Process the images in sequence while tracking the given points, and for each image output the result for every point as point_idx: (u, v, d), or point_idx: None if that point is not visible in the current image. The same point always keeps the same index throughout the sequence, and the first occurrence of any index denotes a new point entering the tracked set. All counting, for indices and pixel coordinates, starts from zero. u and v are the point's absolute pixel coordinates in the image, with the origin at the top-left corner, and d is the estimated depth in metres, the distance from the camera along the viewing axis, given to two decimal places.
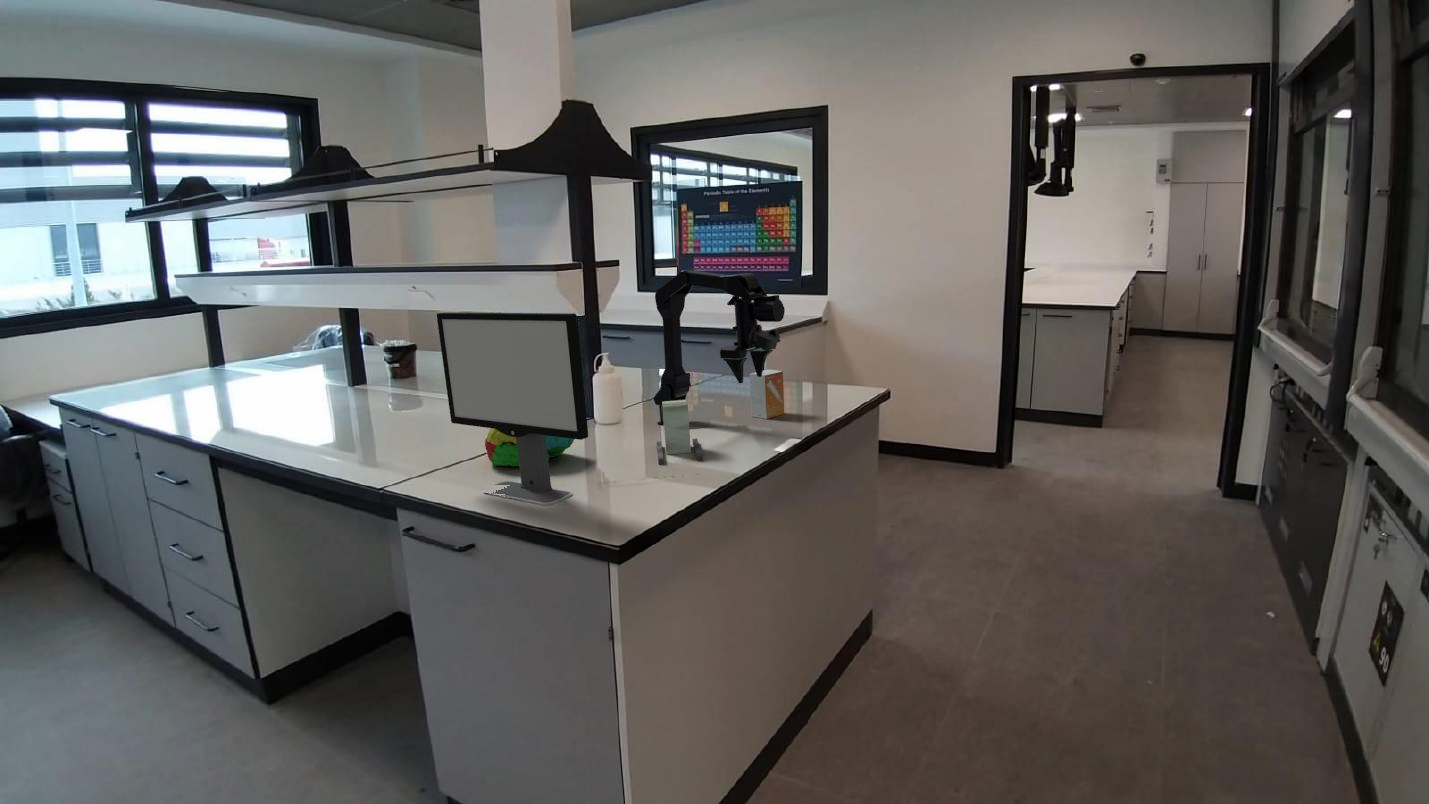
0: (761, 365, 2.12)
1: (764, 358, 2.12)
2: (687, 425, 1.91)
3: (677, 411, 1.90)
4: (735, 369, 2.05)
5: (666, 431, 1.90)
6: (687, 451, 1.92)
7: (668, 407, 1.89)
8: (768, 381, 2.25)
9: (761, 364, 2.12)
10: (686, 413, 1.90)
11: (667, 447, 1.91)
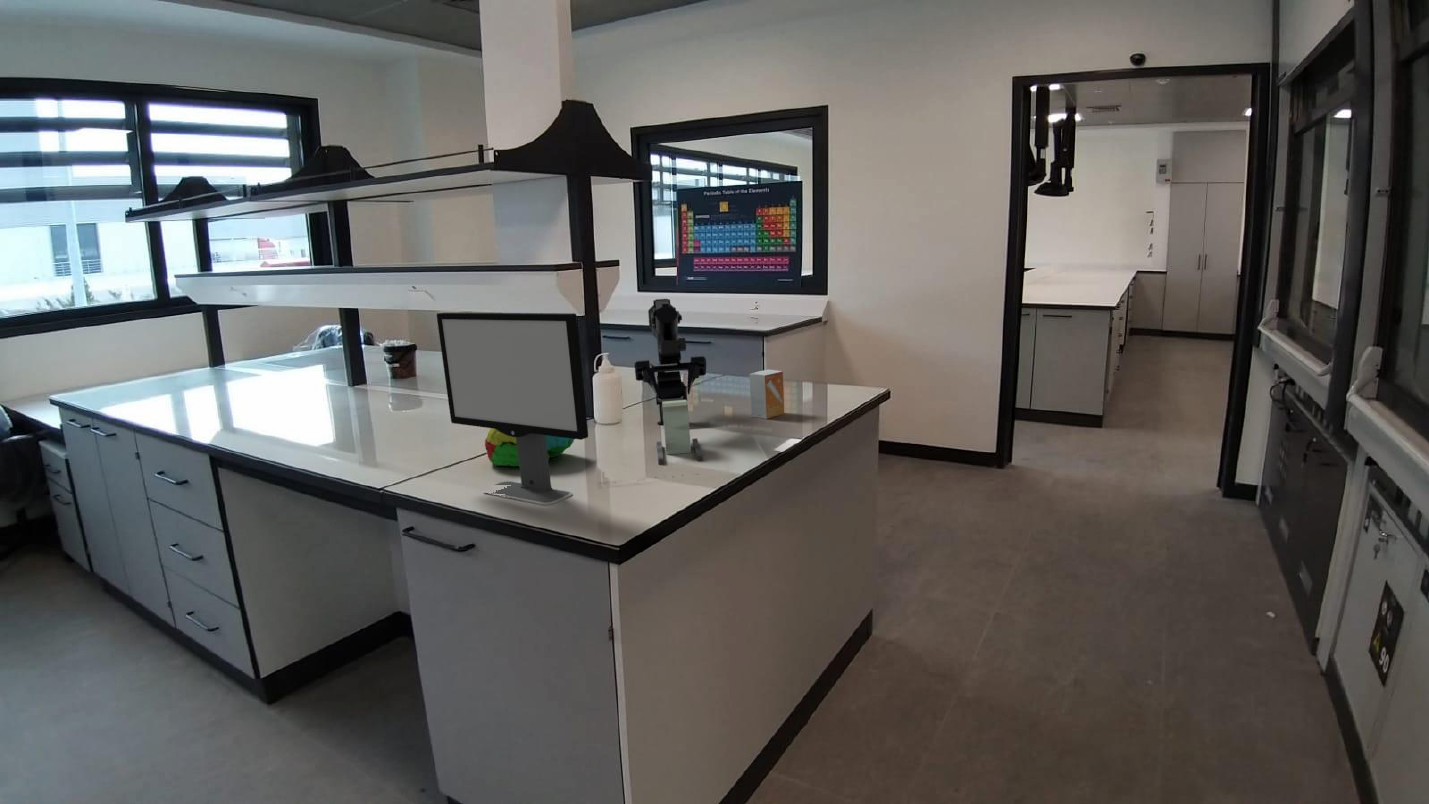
0: None
1: (690, 374, 2.04)
2: (687, 425, 1.91)
3: (677, 411, 1.90)
4: (652, 385, 2.04)
5: (666, 431, 1.90)
6: (687, 451, 1.92)
7: (668, 407, 1.89)
8: (768, 381, 2.25)
9: None
10: (686, 413, 1.90)
11: (667, 447, 1.91)
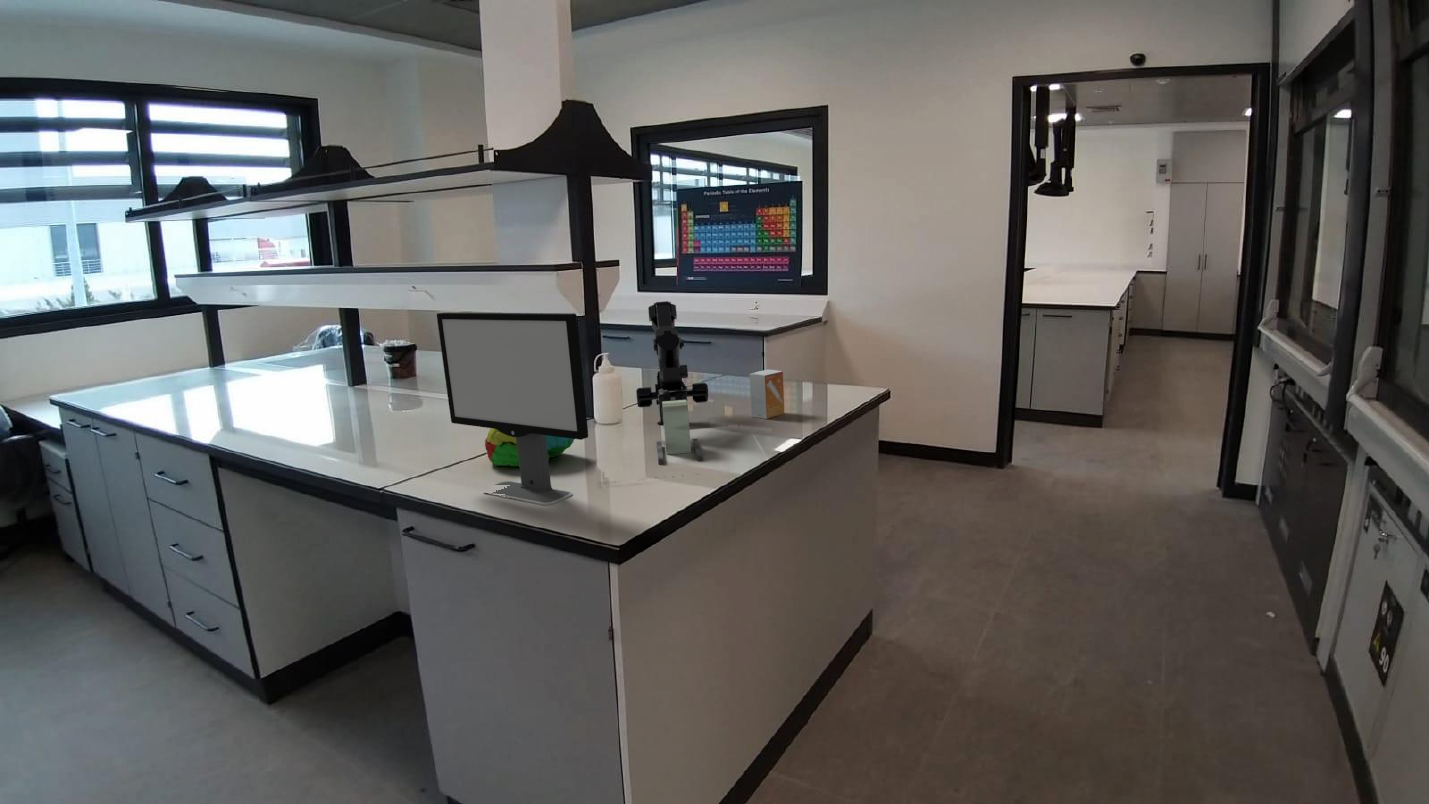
0: None
1: None
2: (687, 425, 1.91)
3: (677, 411, 1.90)
4: None
5: (666, 431, 1.90)
6: (687, 451, 1.92)
7: (668, 407, 1.89)
8: (768, 381, 2.25)
9: None
10: (686, 413, 1.90)
11: (667, 447, 1.91)
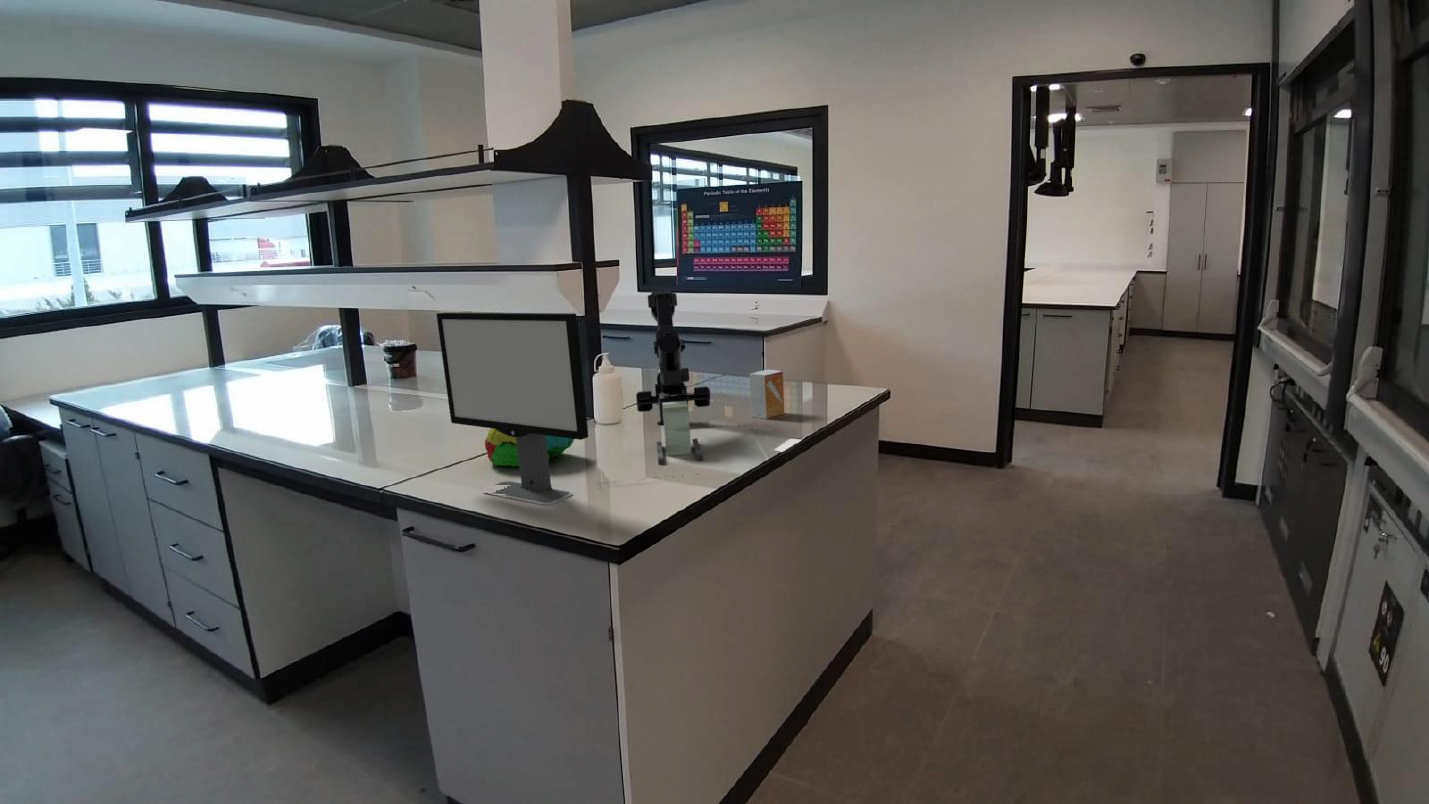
0: None
1: None
2: (687, 426, 1.89)
3: (677, 412, 1.88)
4: None
5: (666, 432, 1.89)
6: (687, 452, 1.91)
7: (668, 408, 1.88)
8: (768, 381, 2.25)
9: None
10: (686, 414, 1.89)
11: (667, 448, 1.90)
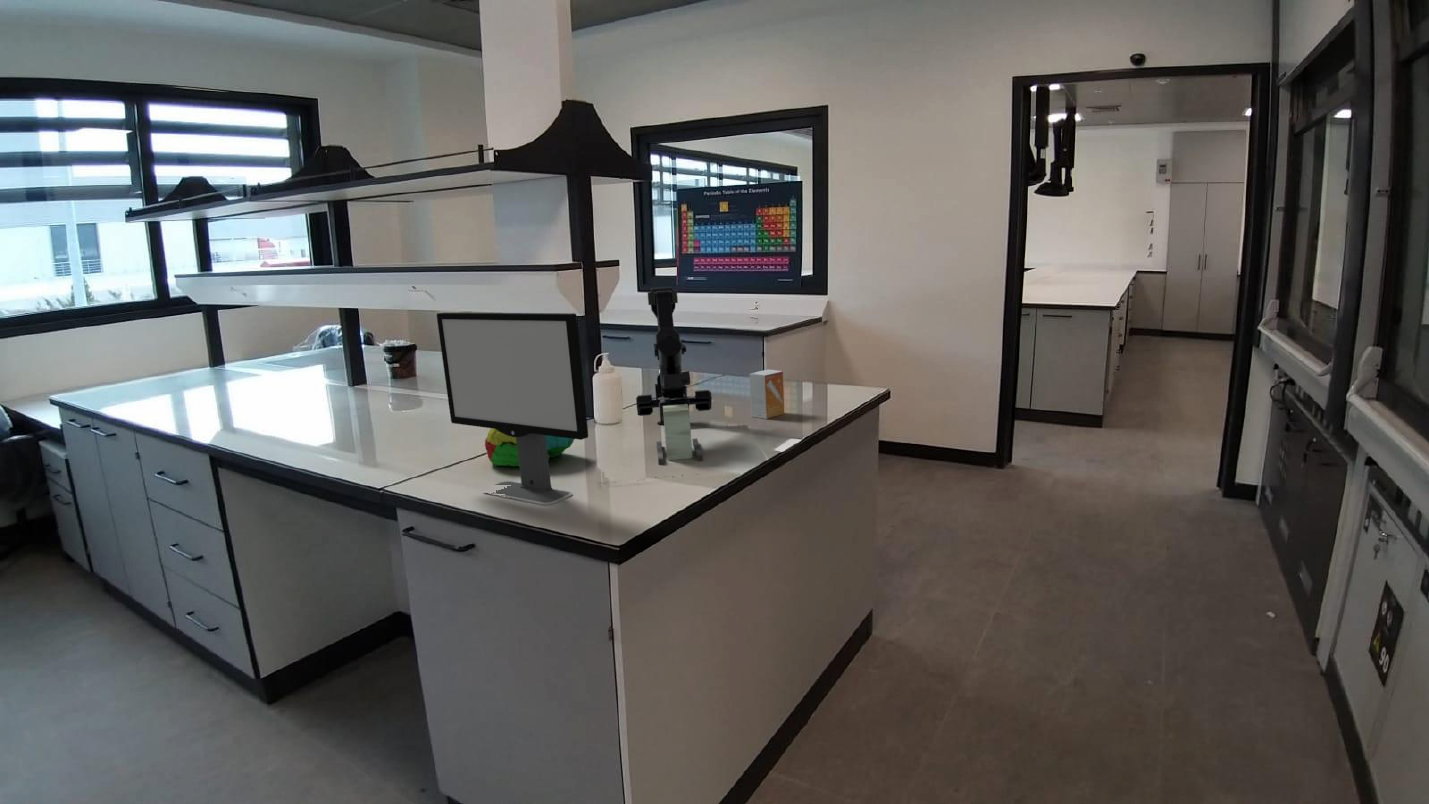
0: None
1: None
2: (688, 430, 1.85)
3: (678, 416, 1.84)
4: None
5: (667, 436, 1.85)
6: (688, 457, 1.87)
7: (669, 412, 1.84)
8: (768, 381, 2.25)
9: None
10: (687, 418, 1.85)
11: (668, 453, 1.86)
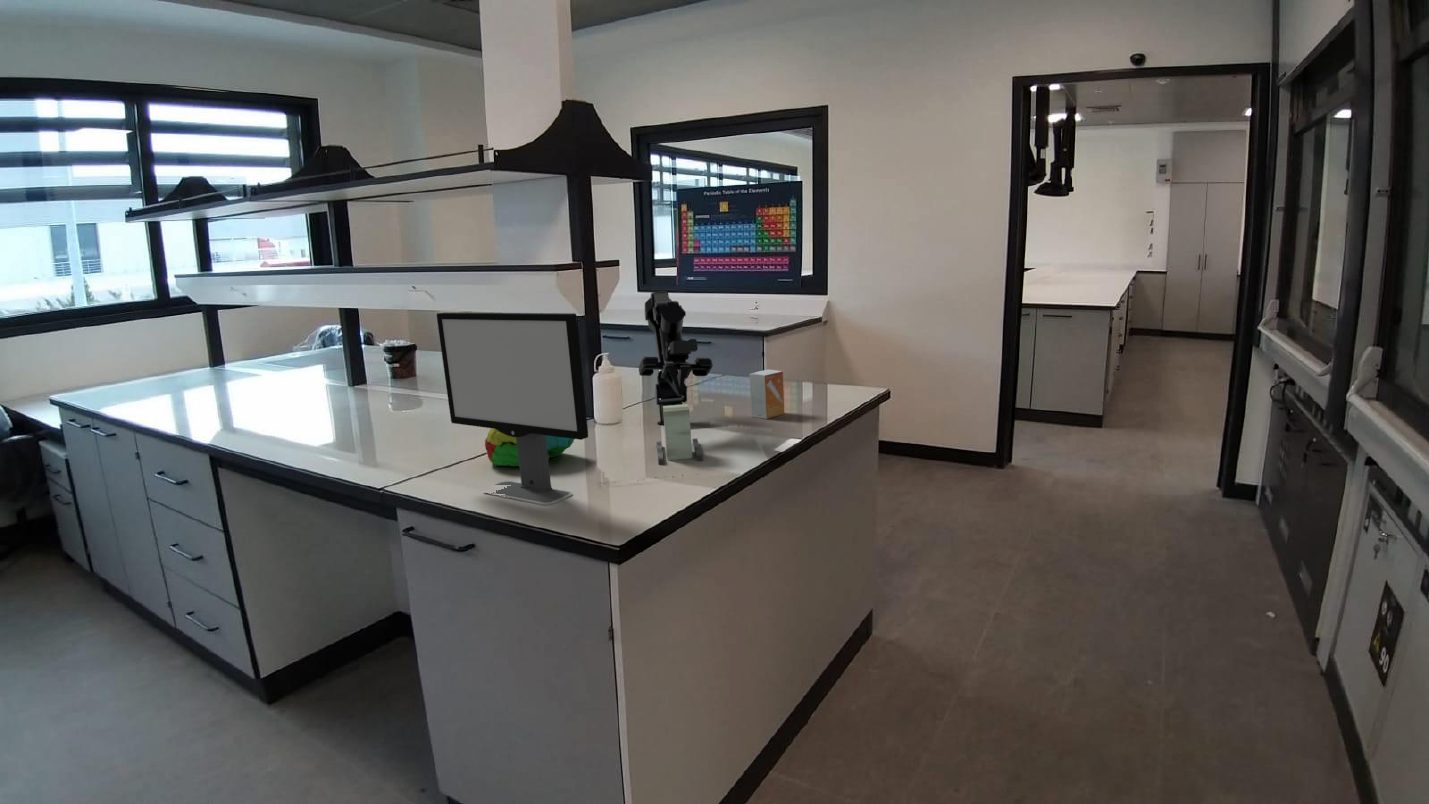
0: (680, 383, 2.02)
1: (682, 375, 2.03)
2: (688, 430, 1.85)
3: (678, 416, 1.84)
4: (672, 383, 2.03)
5: (667, 436, 1.85)
6: (688, 457, 1.87)
7: (669, 412, 1.84)
8: (768, 381, 2.25)
9: (680, 382, 2.02)
10: (687, 418, 1.85)
11: (668, 453, 1.86)
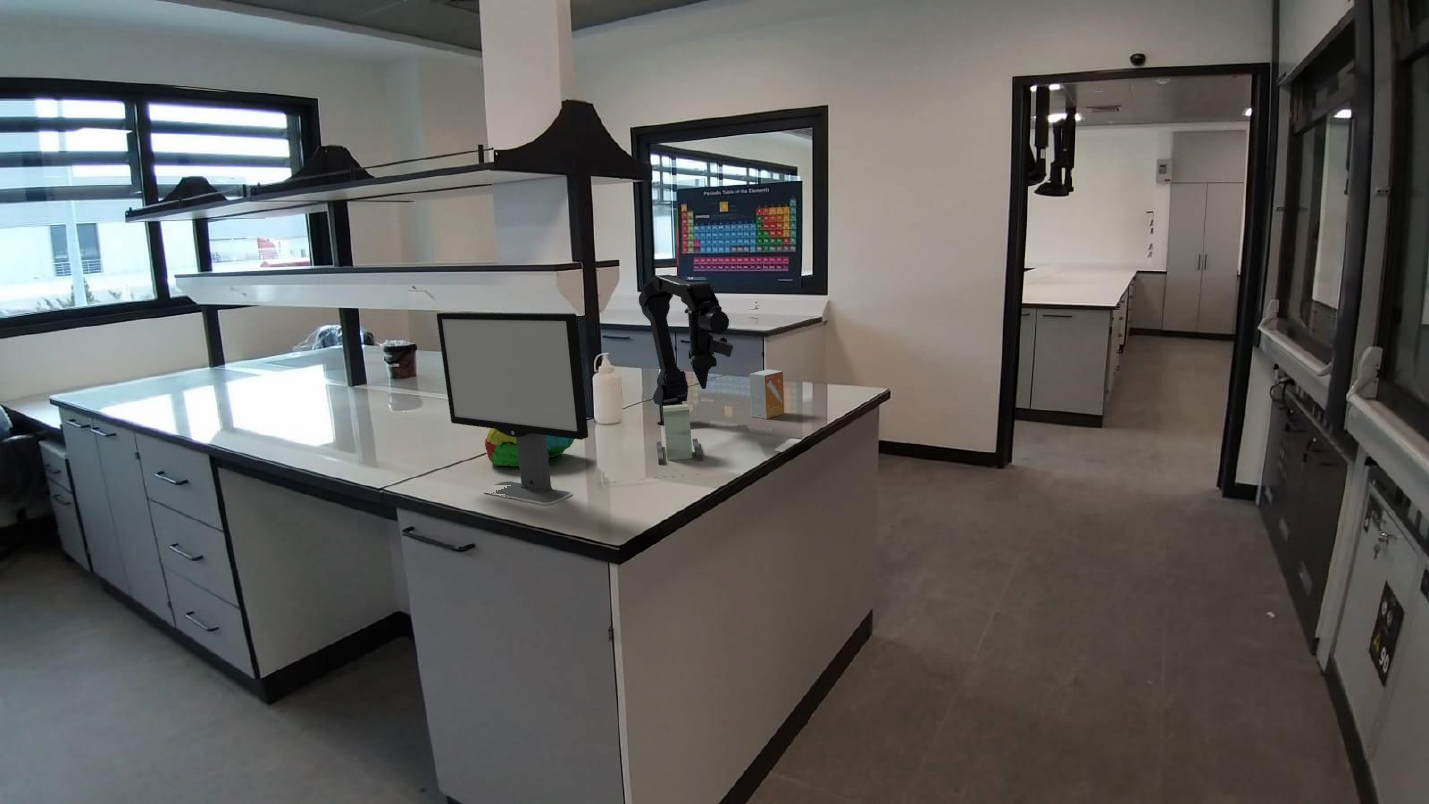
0: None
1: None
2: (688, 430, 1.85)
3: (678, 416, 1.84)
4: (701, 375, 2.08)
5: (667, 436, 1.85)
6: (688, 457, 1.87)
7: (669, 412, 1.84)
8: (768, 381, 2.25)
9: None
10: (687, 418, 1.85)
11: (668, 453, 1.86)
